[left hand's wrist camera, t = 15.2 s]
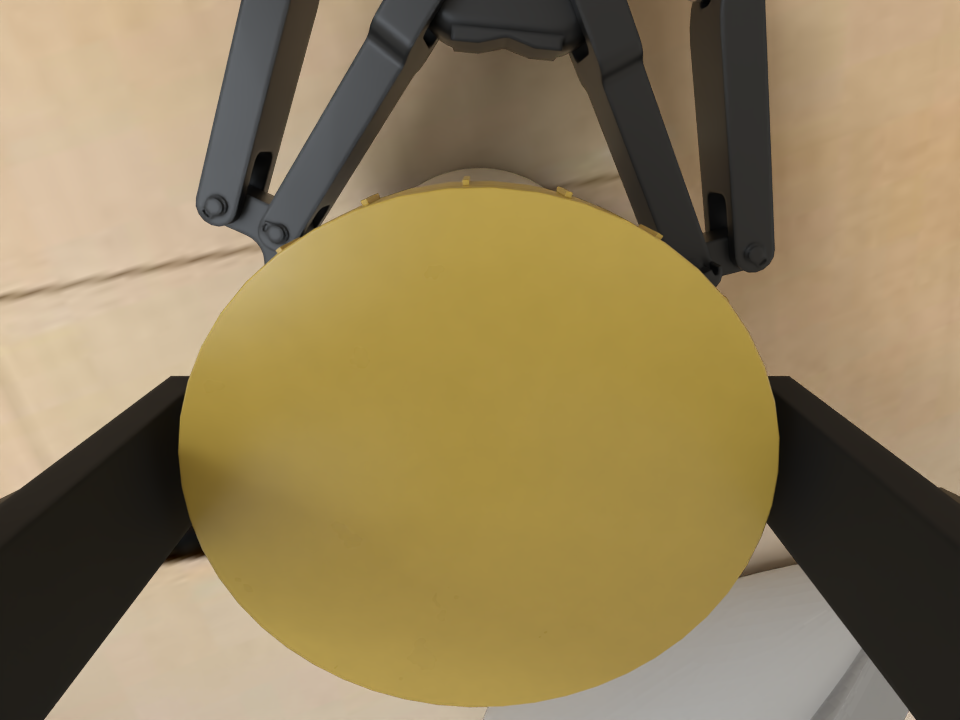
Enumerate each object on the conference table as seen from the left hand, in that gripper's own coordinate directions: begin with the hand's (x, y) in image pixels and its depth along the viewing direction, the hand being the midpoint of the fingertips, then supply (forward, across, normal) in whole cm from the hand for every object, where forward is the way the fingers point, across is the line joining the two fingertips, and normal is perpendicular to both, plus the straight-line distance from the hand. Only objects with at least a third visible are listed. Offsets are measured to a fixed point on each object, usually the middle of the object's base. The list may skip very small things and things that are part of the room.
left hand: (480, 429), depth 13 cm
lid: (-2, 0, 0) cm, 2 cm away
